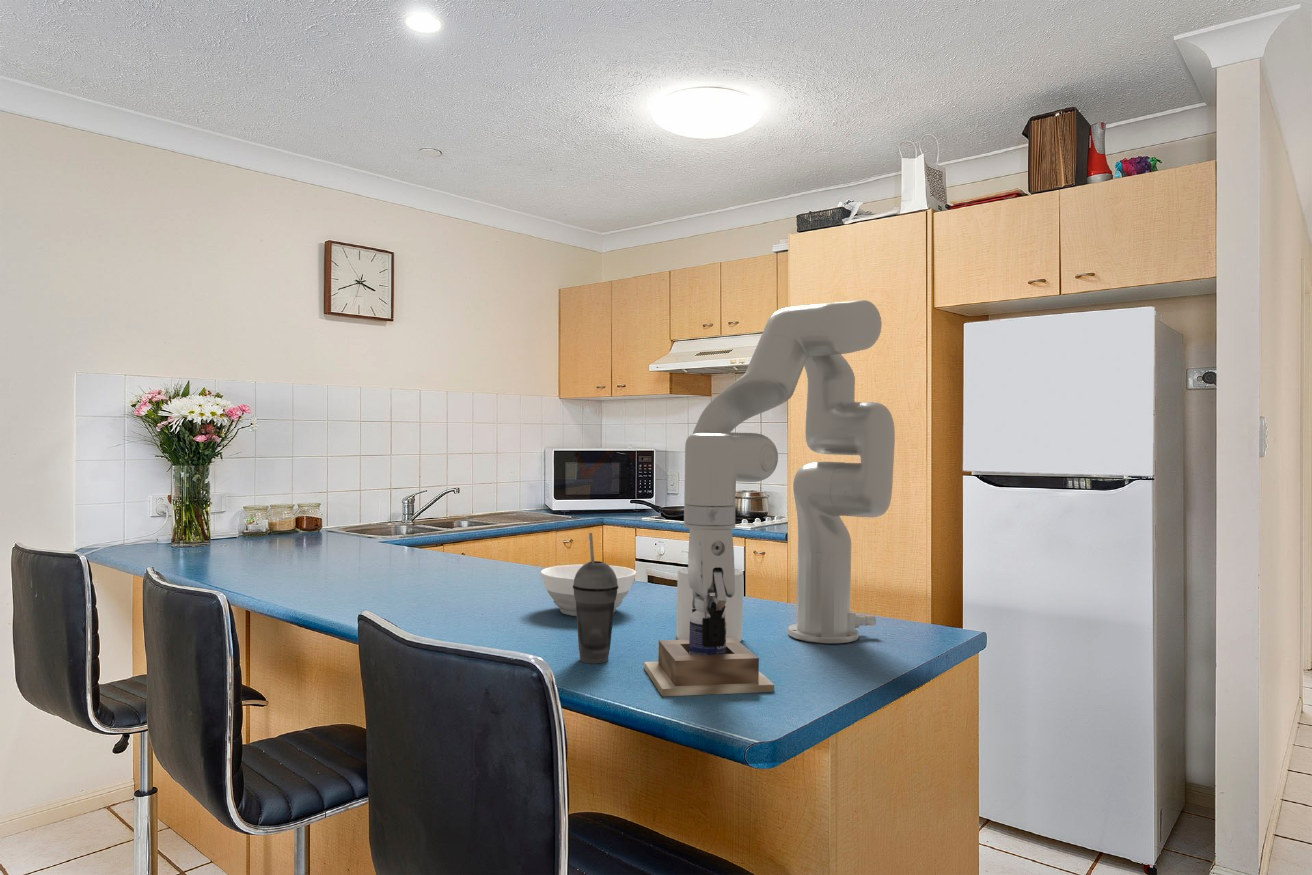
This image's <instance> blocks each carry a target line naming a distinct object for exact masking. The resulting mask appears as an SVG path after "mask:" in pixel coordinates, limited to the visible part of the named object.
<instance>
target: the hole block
mask: <svg viewBox="0 0 1312 875" xmlns="http://www.w3.org/2000/svg"><path fill="white" fill-rule="evenodd" d="M643 664H644V665H643V666H644V668H643V669H644V670H645V672H646V673H647V675H648V677H649V678H650V679H651V681H652V683H653V685H654V686H655V688H656V689H657V690H658V692H659V693H660V695H661V696H662V697H679V696H683V697H684V696H705V695H727V694H730V695H731V694H753V693H756V694H757V693H770V692H771V693H775V683H773V681H771V680H770V679H769V678H768V677H767V676H766V675H764V674H763V673H762V672H761V671H760V668H759V667H760V658H759V657H758V656H757V655H755V654H754V652H752V651H751V650H750V649H749V648H747V647H746V646H745V645H744V644H743V643H742V642H739V641H738V640H736V639H735V638H726V654H715V655H689V639H683V640H679V639H659V640H658V660H657V661H656V660H655V661H644V663H643Z"/></svg>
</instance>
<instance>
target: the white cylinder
mask: <svg viewBox="0 0 1312 875" xmlns="http://www.w3.org/2000/svg"><path fill="white" fill-rule="evenodd" d="M734 571H735V594H734V596H733V597H732V598H729V597H727V596H726V603H725V616H726V638H735V639H736V640H738V641H739V642H740V643H742V640H743V627H744V626H743V625H744V624H743V623H744V622H743V620H744V571H743V570H742V569H738V568H736V567H734ZM676 587H677V595H676V596H677V597H676V601H677V602H676V638H677V640H683V639H689V636H690V615H691V614H692V609H696V608H693V606H692V601H693V591H694V590H692V589H691V588H690V586H689V582H688V566H687V567H685V566H684V567H681V568H679V569H677V586H676ZM713 596H715V593H713Z"/></svg>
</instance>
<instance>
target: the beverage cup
mask: <svg viewBox="0 0 1312 875" xmlns="http://www.w3.org/2000/svg"><path fill="white" fill-rule="evenodd" d="M588 537H589V538H588V539H589V540H588V541H589V549H590V550H589V551H590V552H589V553H590V561H588V562H586V563H584V565H583V566H582V567H581V568H580V569H579V570H578V572H577V573H576V576H575V579H574V585H573V589H574V597H575V600H576V613H577V616H576V625H577V626H576V627H577V642H578V651H579V661H580V662H582V663H586V664H603V663H607V662H608V661H609V656H610V651H611V641H612V633H613V632H612V631H613V622H614V613H615V612H614V605H615V600H616V596H617V589H618V588H619V587H618V584H617V577H616V575H615V573H614V571H613V570H612V568H611V567H610V566H609V564H607V563H606V562H604V561H600V560H599V561H597V560H596V561H595V553H594V540H593V539H594V538H593V533H592V532H589V533H588Z"/></svg>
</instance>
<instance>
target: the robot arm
mask: <svg viewBox="0 0 1312 875" xmlns="http://www.w3.org/2000/svg"><path fill="white" fill-rule="evenodd" d="M881 332H882V317H881V313H880V312H879V309H878V308H877V307H876V305H875V304H874V303H872V302H871V301H869V300H866V299H860V300H849V301H838V302H826V303H817V304H815V303H814V304H809V305H808V304H807V305H797V306H790V307H785V308H781V309H778V310H777V311H775V312H774V313H773V314H772V315H771V316H770V317H769V318H768V320H767V322H766V324H765V326H764V328H763V331H762V334H761V336H760V338H759V340H758V342H757V344H756V348H755V349H754V352H753V354H752V356H751V359H750V360H749V363H748V365H747V368H746V371H745V372H744V374H743V375H742V376H741V377H739V378H738V379H736V380H735V381H734V382H732V383H730V384H729V386H727V387H726V388H724V390H723V391H721V392H720V393H719V394H718V395H717V396H715V398H713V399H712V400H711V401H710V402H709V403H708V405H706V407H705V408H704V409H703V411H702V413H701V414H700V415H699V418H698V420H697V422H696V424H695V427H694V428H693V431H692V434H690V435H689V436H687V438H686V440H685V443H684V444H685V445H684V447H685V448H684V492H683V494H684V496H683V497H684V498H683V499H684V500H683V502H684V505H683V510H684V511H683V527H684V528H685V529H686V528H687V529H689V537H688V557H687V558H688V560H687V567H688V582H689V586H690V588H691V589H692V590H694V591H693V601H692V606H693V608H695V598H696V597H698V596H702V597H703V598H704V611H705V618H702V645H703V646H704V647H716V646H724V644H725V603H726V596H727V597H729V598H732V597H733V596H734V594H735V571H734V568H735V551H734V550H735V549H734V548H735V547H734V540H733V539H734V538H733V530H734V529H735V528H736V489H737V488H736V483H737V482H740V483H741V482H742V483H744V482H745V483H757V482H762V481H764V480H766V479H769V477H771V476H772V474H773V473H774V472H775V470H776V468H777V466H778V462H779V453H778V452H779V451H778V449H777V447H776V445H775V443H774V442H773V440H771V439H770V438H769V437H768V436H766V435H765V434H761V433H757V432H733V430H735V428H737V427H738V426H739V425H740V424H743V423H744V422H745V421H747V420H748V419H750V418H753V417H755V416H757V415H760V414H763V413H765V412H767V411H769V410H770V411H771V409H774V408H776V407H779V406H781V405H782V404H785V403H787V401H789V400H790V399H791V398H792V397H793V395H794V393H795V390H796V387H797V385H798V383H799V380H800V377H801V374H802V372H803V370H804V369H805V374H806V378H807V394H806V395H807V397H806V411H805V412H806V413H805V414H806V415H805V417H806V418H805V433H804V434H805V442H806V445H807V447H808V448H809V450H811V451H812V452H814V453H817V454H822V455H833V456H834V455H835V456H836V455H837V456H839V455H840V456H860V462H845V461H844V462H842V461H814V462H810V463H809V462H808V463H806V464H804V465H802V466H801V467H800V468H799V469H797V471H796V473H795V475H794V477H793V482H792V483H793V484H792V487H793V498H794V502H795V509H796V515H797V516H796V518H797V576H796V577H797V582H796V583H797V587H796V588H797V590H796V623H794V624H791V625H789V626H788V627H787V633H788V634H787V635H788V636H790V637H792V638H793V639H796V640H800V641H804V642H809V643H818V644H847V643H851V642H855V641H857V640H858V639H859V637H860V636H859V635H860V632H859V630H857V629H859V628H860V627H862V626H863V627H864V626H865V627H875V626H876V624H877V619H876V618H877V617H876V616H875V615H874V614H873V615H872V614H871V615H870V614H867V615H866V614H865V615H863V614H862V613H861V614H860V613H856V612H853V610H851V595H852V594H851V589H852V588H851V586H852V585H851V583H852V582H851V581H852V578H851V577H852V574H851V573H852V538H851V536H850V533H849V530H848V528H847V526H846V524H845V523H844V521H843V520H842V518H841V517H856V518H879V517H881V516H883V515H885V513H887V511H888V509H889V507H890V504H891V501H892V493H893V481H894V480H893V478H894V463H895V462H894V461H895V460H894V459H895V442H896V440H895V439H896V438H895V437H896V436H895V434H896V431H895V422H894V418H893V415H892V413H891V411H890V409H889V408H888V407H887V406H886V405H884V404H882V403H880V402H876V401H875V402H874V401H862V402H861V401H855V395H856V394H855V391H856V390H855V389H856V387H855V386H856V376H855V373H854V370H853V368H852V367H851V365H850V363H849V362H848V361H847V359H846V358H845V357H844V356H843V355H845V354H851V353H855V352H859V351H865V350H868V349H870V348H872V347H873V346H874V345H875V344H876V343H877V341H878V339H879V338H880V335H881ZM732 529H733V530H732ZM713 593H715V596H713ZM709 601H715V602H712V604H711V606H710V603H709ZM695 611H696V609H692V613H693V612H695Z"/></svg>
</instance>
